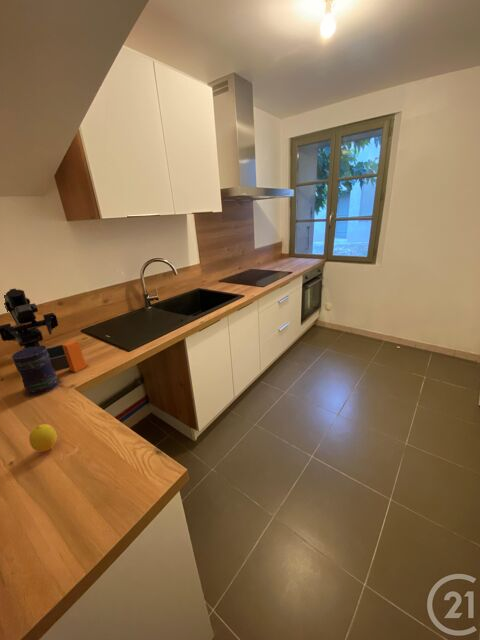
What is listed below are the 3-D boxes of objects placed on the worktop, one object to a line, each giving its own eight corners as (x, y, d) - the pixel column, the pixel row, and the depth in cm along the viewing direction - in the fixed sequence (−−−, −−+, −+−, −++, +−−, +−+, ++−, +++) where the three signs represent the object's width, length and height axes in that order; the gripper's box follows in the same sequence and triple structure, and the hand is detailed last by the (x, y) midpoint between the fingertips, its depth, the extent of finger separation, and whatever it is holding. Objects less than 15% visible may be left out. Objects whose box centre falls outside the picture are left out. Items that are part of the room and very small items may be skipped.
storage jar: (20, 393, 94) (4, 357, 89) (46, 378, 103) (33, 344, 98) (39, 397, 91) (24, 360, 86) (65, 381, 100) (52, 346, 94)
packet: (70, 370, 107) (61, 344, 103) (81, 365, 111) (73, 339, 107) (75, 372, 106) (66, 345, 101) (86, 366, 110) (78, 340, 105)
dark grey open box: (44, 361, 117) (40, 350, 115) (76, 352, 123) (73, 341, 121) (43, 374, 106) (38, 362, 104) (78, 363, 112) (74, 352, 110)
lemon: (45, 441, 72) (36, 418, 69) (65, 440, 72) (56, 417, 69) (30, 458, 67) (19, 434, 64) (51, 458, 67) (40, 434, 64)
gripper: (-13, 307, 98) (-1, 329, 90) (46, 295, 110) (60, 313, 103) (-3, 329, 104) (8, 352, 97) (51, 316, 117) (65, 335, 109)
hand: (36, 337), depth 101 cm, fingers open, 9 cm apart
